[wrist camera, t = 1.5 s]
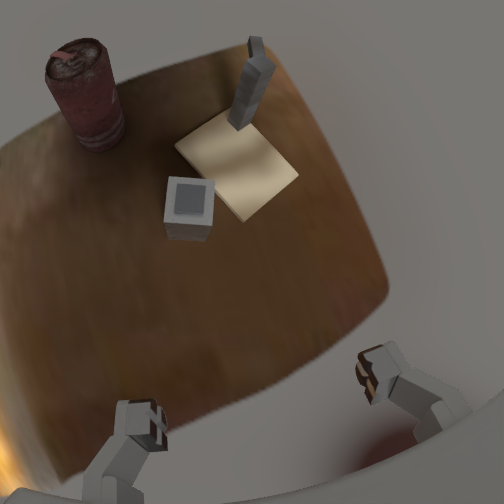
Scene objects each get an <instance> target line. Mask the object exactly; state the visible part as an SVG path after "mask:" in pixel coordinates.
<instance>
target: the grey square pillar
mask: <svg viewBox="0 0 504 504" xmlns="http://www.w3.org/2000/svg"><path fill="white" fill-rule="evenodd" d="M214 192H215V180H208V179H197V178H184V177H171V176H169V179H168V187H167V195H166V204H165V213H164V225H165V229H166V233H167V236H168V239H177V240H192V241H206V238H207V236H208V234H209V232H210V229H211V227H212V220H213V206H214Z"/></svg>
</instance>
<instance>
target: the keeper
mask: <svg viewBox="0 0 504 504" xmlns="http://www.w3.org/2000/svg"><path fill="white" fill-rule="evenodd" d="M247 46H248V52H249V57H250V59H247V60H246V62H245V65H244V68H243V71H242V75H241V78H240V81H239V84H238V87H237V90H236V93H235V97H234V100H233V103H232V106H231V107H230V108H229V109H227V110H226V111H224V112H222V113H221V114H219V115H218V116H216V117H214V118H213V119H211V120H210V121H208V122H207V123H205V124H204V125H202V126H201V127H199V128H198V129H196V130H195V131H193V132H192V133H190V134H189V135H187V136H186V137H184V138H183V139H181V140H180V141H179V142H177V143H176V144H175V148H176V149H177V150H178V151H179V152H180V154H181V155H182V156H183V157H184V158H185V159H186V160H187V161H188V162H189V164H190V165H191V166H192V167H193V168H194V169H195V170H196V171H197V172H198V174H199V175H200V176H201V177H202V178H203V179H208V180H215V192H216V194H217V195H218V196H219V197H220V198H221V199H222V200H223V201H224V203H225V204H226V205H227V206H228V207H229V208H230V209H231V210H232V211H233V213H234V214H235V215H236V216H237V217H238V218H239V219H240V220H241V222H242V223H243V222H245V221H246V220H247V219H248V218H249V217H250V216H252V215H253V214H254V213H255V212H256V211H257V210H259V209H260V208H261V207H262V206H263V205H264V204H266V203H267V202H268V201H269V200H270V199H271V198H273V197H274V196H275V195H276V194H277V193H279V192H280V191H281V190H282V189H283V188H285V187H286V186H287V185H288V184H289V183H290V182H292V181H293V180H294V179H295V178H296V177H297V176H299V174H298V173H297V172H296V171H295V170H294V169H293V168H292V166H291V165H290V164H289V163H288V162H287V161H286V160H285V159H284V158H283V157H282V156H281V155H280V153H279V152H278V151H277V150H276V149H275V148H274V147H273V146H272V145H271V144H270V143H269V142H268V141H267V140H266V139H265V138H264V137H263V135H262V134H261V133H260V132H259V131H258V130H257V129H256V128H255V127H254V126H253V125H252V124H251V121H252V118H253V116H254V114H255V111H256V109H257V107H258V105H259V103H260V100H261V98H262V96H263V94H264V91H265V89H266V87H267V85H268V83H269V81H270V78H271V76H272V74H273V72H274V70H275V68H276V65H275V64H274V63H273V62H272V61H271V60H270V59H268V58H267V57H266V55H265V50H264V45H263V41H262V37H256V36H250V37H249V40H248V43H247Z"/></svg>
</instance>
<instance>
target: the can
mask: <svg viewBox="0 0 504 504" xmlns="http://www.w3.org/2000/svg"><path fill="white" fill-rule="evenodd" d="M45 82H46V84H47V86H48V88H49V90H50V91H51V93H52V95H53V97H54V99H55V100H56V102H57V104H58V106H59V108H60V109H61V111H62V113H63V115H64V116H65V118H66V120H67V122H68V123H69V125H70V127H71V128H72V130H73V132H74V133H75V135H76V137H77V138H78V140H79V142H80V143H81V145H82V146H83V147H84V148H85V149H87V150H88V151H92V152H101V151H105V150H107V149H110V148H112V147H113V146H114V145H116V144H117V143H118V142H119V141H120V139H121V138H122V137H123V134H124V132H125V127H126V123H125V119H124V115H123V112H122V108H121V104H120V101H119V97H118V93H117V89H116V85H115V81H114V77H113V73H112V69H111V64H110V60H109V56H108V52H107V49H106V48H105V47H104V46H103V45H102V44H101V43H100V42H99V41H98V40H96V39H93V38H82V39H77V40H74V41H71V42H69V43H67V44H65V45H64V46H62V47H61V48H59V49H58V50H57V51H55V52H53V53H52V54H51V55H50V59H49V61H48V63H47V65H46V73H45Z"/></svg>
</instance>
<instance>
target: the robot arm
mask: <svg viewBox="0 0 504 504" xmlns="http://www.w3.org/2000/svg"><path fill="white" fill-rule="evenodd" d="M358 360H359V362H358V363H357V364H356V368H355V370H356V376H357V379H358V381H359V383H360V385H362V386H364V387H366V388H365V392H364V394H365V395H366V398H367V399H368V402H369V404H370V405H372V404H375V403H378V402H381V401H383V400H386V399H388V398H389V400H390V401H391V402H393V403H394V404H396V405H397V406H399V407H400V408H402V409H403V410H405V411H406V412H408V413H410V414H411V415H412V416H414V417H415V418H417V419H418V420H420V422H419V423H418V425H417V426H416V427H415V429H414V431H413V433H414V435H415V437H416V439H417V441H418V443H419V444H418V445H416V446H414V447H412V448H410V449H408V450H406V451H404V452H402V453H399V454H397V455H395V456H393V457H391V458H388V459H386V460H384V461H382V462H379V463H377V464H374V465H372V466H370V467H367V468H365V469H362V470H359V471H357V472H354V473H351V474H349V475H346V476H343V477H340V478H337V479H334V480H331V481H328V482H324V483H321V484H318V485H314V486H311V487H307V488H303V489H299V490H296V491H291V492H287V493H283V494H278V495H273V496H269V497H264V498H258V499H252V500H247V501H239V502H232V503H224V504H504V389H503V390H502V391H500V392H499V393H498V394H497V395H495V396H494V397H493V398H491V399H490V400H489V401H487V402H486V403H485V404H483V405H482V406H480V407H479V408H477V409H476V410H475V411H472V409H471V408H470V406H469V405H468V403H467V401H466V400H465V398H464V397H463V395H462V394H461V392H460V390H459V389H458V388H456V387H453V386H451V385H449V384H447V383H445V382H443V381H441V380H439V379H437V378H435V377H433V376H431V375H428V374H427V373H424V372H423V371H420V370H419V369H417V368H414V369H412V367H411V366H410V364H409V363H408V361H407V360H406V358H405V357H404V355H403V353H402V352H401V350H400V349H399V347H398V346H397V344H396V343H395V342H394V341H389V342H387V343H384V344H381V345H378V346H375V347H373V348H370V349H367V350H364V351H362V352H360V353H359V354H358ZM166 428H167V420H166V415H165V413H164V410H163V409H162V408H161V407H159V406H157V401H156V400H155V399H154V398H148V399H138V400H123V401H118V403H117V406H116V416H115V427H114V436H110V438H109V439H108V440H107V442H106V443H105V445H104V446H103V447H102V449H101V450H100V451H99V453H98V454H97V455H96V457H95V458H94V460H93V461H92V462H91V464H90V465H89V466H88V468H87V469H86V470H85V472H84V473H83V489H82V501H80V500H75V499H69V498H64V497H59V496H54V495H50V494H46V493H42V492H38V491H34V490H30V489H27V488H22V487H20V488H17V489H16V490H15V491H14V492H13V493H12V494H11V495H10V496H9V497H8V498H7V500H6V501H5V502H4V503H3V504H144V494H143V493H142V492H141V491H140V490H137V489H136V488H134V487H132V485H133V483H134V481H135V479H136V478H137V476H138V474H139V472H140V470H141V468H142V466H143V464H144V462H145V461H146V459H147V457H148V455H149V452H161V451H168V441H167V436H166V435H165V434H164V431H165V430H166Z"/></svg>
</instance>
